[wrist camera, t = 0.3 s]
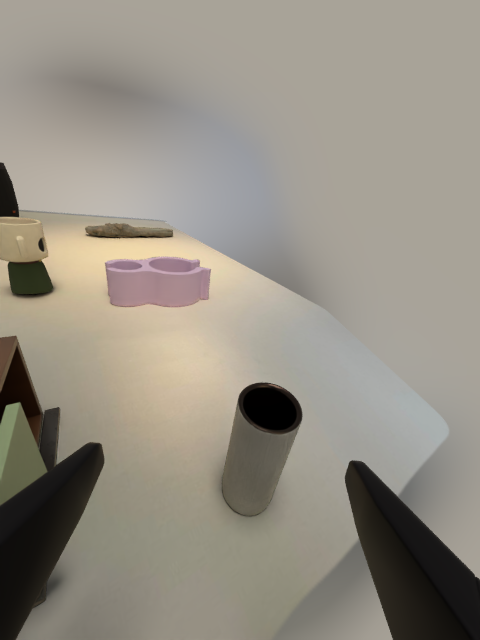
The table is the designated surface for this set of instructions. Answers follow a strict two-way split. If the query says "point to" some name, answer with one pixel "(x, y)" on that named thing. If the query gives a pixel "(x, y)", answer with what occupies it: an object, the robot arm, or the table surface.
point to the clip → (157, 281)
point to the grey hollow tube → (259, 446)
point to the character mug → (24, 255)
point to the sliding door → (17, 453)
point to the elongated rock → (127, 231)
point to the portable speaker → (7, 195)
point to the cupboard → (27, 405)
